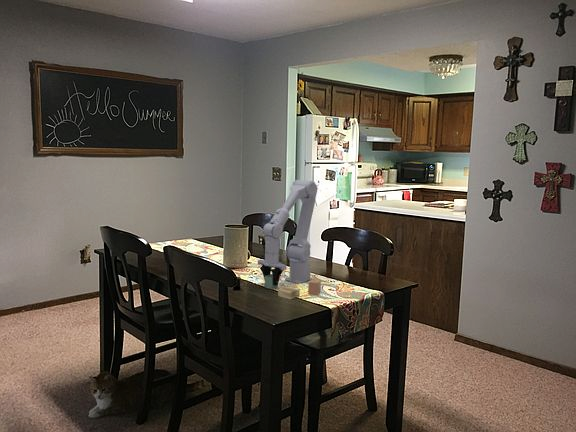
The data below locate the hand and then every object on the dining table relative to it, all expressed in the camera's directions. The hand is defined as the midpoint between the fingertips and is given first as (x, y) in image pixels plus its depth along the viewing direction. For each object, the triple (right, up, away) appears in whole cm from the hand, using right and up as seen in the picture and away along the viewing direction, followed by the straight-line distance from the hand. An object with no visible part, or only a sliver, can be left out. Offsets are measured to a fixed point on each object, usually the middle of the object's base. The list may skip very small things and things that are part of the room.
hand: (271, 284), depth 213 cm
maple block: (+7, -4, -11) cm, 14 cm away
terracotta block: (+18, -3, -7) cm, 19 cm away
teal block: (0, -1, 0) cm, 1 cm away
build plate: (-14, -2, 0) cm, 15 cm away
